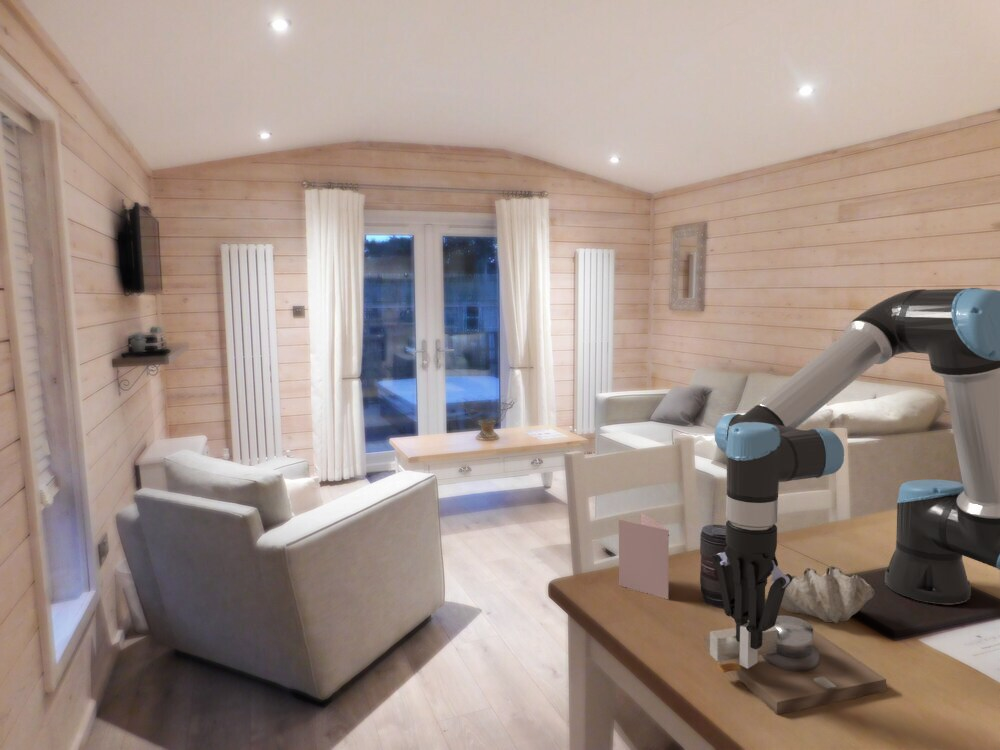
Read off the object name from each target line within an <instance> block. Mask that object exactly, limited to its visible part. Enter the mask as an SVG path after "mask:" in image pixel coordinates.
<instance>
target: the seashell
mask: <svg viewBox="0 0 1000 750" xmlns="http://www.w3.org/2000/svg"><path fill="white" fill-rule="evenodd" d="M825 571H826V572H825V573H824V574H823V575H822V574H819V573H818V571H817V570H816V569H815V568H811V567H808V568H805V570H804V572H803V576H802V577H801V578H800V577H798V576H795V575H791V576H792V581H791V582H790V584H789V585H788V586H787V587H786V589H785V592H784V596H783V599H782V602H781V606H780V608H782V609H783V610H786V611H788V612H790V613H795V614H803V615H810V616H811V617H816V618H818V619H821V620H822V621H823V622H826V623H831V622H833V623H835V624H838V623H839V622H840V621H842V622H848V621H849V620H850V619H851V618H852V616H853V615H856V614H857V613H858V612H859V611H860V609H862V608H863V607H864V606H865V604H866V603H867V602H868V601H869V600H871V599H872V598H873V597H874V596H875V589H874V588H872V586H871V584H869V583H867V581H866V580H865V579H864V578H862V577H861V576H860V575H858V574H853V575H852V576H848V575H845V574H844V573H843V570H842V569H841V568H839V567H838V566H835V565H831V566H828V567H827V568H826V570H825Z"/></svg>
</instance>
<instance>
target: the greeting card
mask: <svg viewBox="0 0 1000 750" xmlns="http://www.w3.org/2000/svg"><path fill="white" fill-rule="evenodd" d="M640 517H641V520H640V521H641V522H640V523H636V522H631V521H628V520H627V521H626V520H621V519H618V577H619V578H618V585H622V586H624V587H623V588H625V587H627V588H626V589H628V588H630V589H629V590H632V589H633V591H635V590H636V591H635V592H639V591H640V592H639V593H642V592H644V593H643V594H646V593H648V594H647V595H649V594H652V595H651V596H653V595H654V596H653V597H656V596H659V597H658V598H660V597H662V598H661V599H664V598H665V600H667V599H668V600H669V561H670V560H669V553H670V552H669V547H670V545H669V542H670V541H669V539H670V538H669V537H670V534H669V532H670V531H669V529H667V528H666V527H664V525H663V526H662V525H661V524H659V523H657V521H655V520H654V519H652V518H650V517H648V516H647V515H645V514H644V513H642V512H641V513H640Z"/></svg>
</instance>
